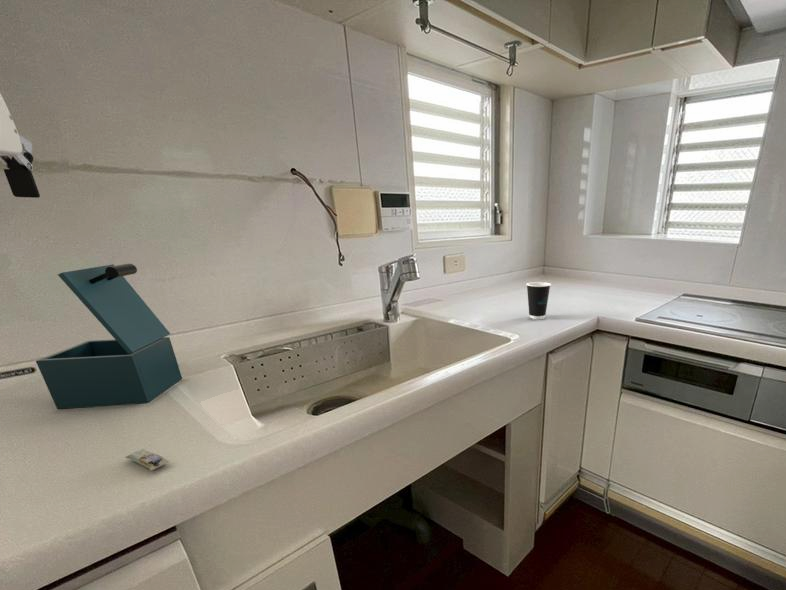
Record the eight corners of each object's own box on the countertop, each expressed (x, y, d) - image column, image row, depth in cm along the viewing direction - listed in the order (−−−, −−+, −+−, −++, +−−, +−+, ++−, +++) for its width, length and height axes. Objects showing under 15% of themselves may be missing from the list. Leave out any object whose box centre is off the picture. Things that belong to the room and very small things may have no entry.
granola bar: (125, 460, 54) (122, 453, 54) (145, 451, 56) (142, 445, 56) (152, 473, 51) (149, 466, 51) (172, 464, 53) (170, 457, 53)
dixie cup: (529, 313, 137) (530, 281, 133) (552, 315, 134) (553, 282, 130) (522, 318, 130) (522, 284, 126) (545, 321, 127) (547, 286, 123)
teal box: (57, 409, 68) (35, 360, 65) (104, 383, 79) (87, 340, 76) (148, 402, 71) (131, 355, 68) (182, 378, 81) (169, 336, 78)
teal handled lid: (57, 274, 62) (91, 259, 62) (109, 266, 72) (138, 253, 72) (128, 354, 67) (159, 340, 68) (166, 335, 78) (193, 323, 78)
